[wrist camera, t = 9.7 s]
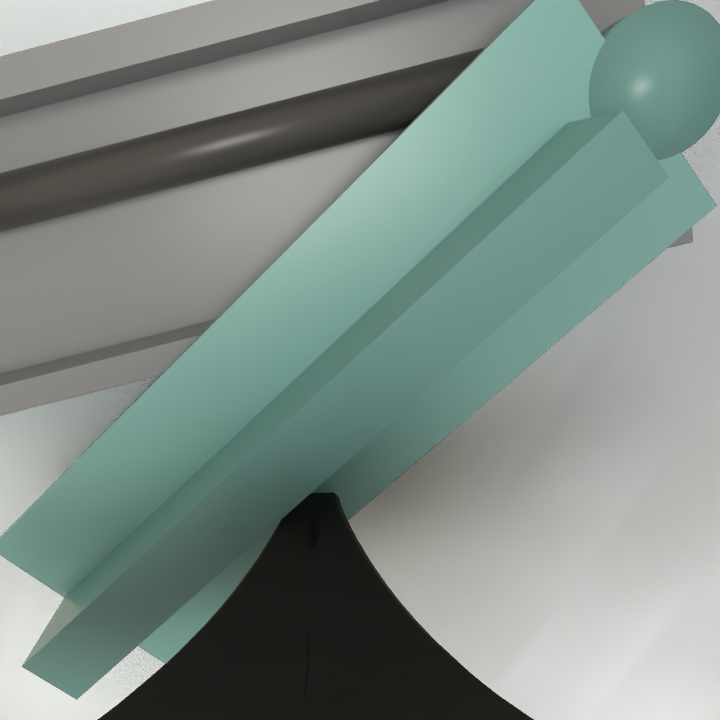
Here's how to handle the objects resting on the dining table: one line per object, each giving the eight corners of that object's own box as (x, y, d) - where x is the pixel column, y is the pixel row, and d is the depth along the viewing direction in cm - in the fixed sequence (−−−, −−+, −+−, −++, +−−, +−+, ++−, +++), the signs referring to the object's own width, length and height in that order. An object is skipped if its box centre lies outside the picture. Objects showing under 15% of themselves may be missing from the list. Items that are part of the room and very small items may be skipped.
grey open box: (622, -74, 10) (680, -123, 9) (641, 232, 12) (692, 241, 11) (-210, 144, 11) (-312, 138, 9) (-63, 410, 13) (-123, 446, 11)
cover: (616, -85, 9) (722, -180, 6) (760, 145, 10) (891, 136, 8) (7, 528, 12) (-71, 616, 9) (180, 645, 13) (149, 747, 11)
